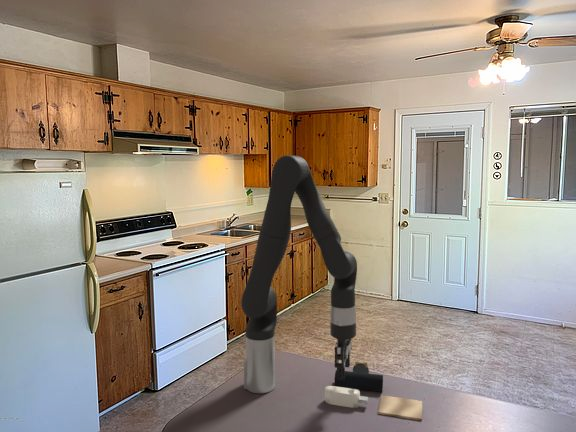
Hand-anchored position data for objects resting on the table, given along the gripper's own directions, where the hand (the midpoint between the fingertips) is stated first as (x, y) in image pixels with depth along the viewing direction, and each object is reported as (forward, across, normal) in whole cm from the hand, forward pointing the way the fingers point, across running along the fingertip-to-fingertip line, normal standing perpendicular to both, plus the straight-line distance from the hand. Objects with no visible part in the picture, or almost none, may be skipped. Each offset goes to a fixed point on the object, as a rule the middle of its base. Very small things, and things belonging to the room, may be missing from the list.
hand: (343, 372), depth 134 cm
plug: (+10, 0, +1) cm, 10 cm away
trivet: (+10, -2, +16) cm, 19 cm away
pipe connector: (+10, -14, +3) cm, 18 cm away
